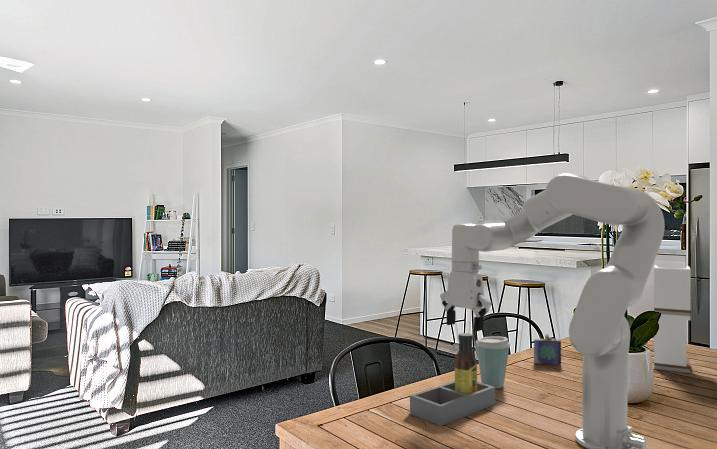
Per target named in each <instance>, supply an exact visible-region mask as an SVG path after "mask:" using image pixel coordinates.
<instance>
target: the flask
mask: <svg viewBox="0 0 717 449" xmlns="http://www.w3.org/2000/svg"><path fill="white" fill-rule="evenodd" d="M549 335H550V334H549V333H547V334H544V336H545V337H544V338H534V340H533V363H534V365H538V366H540V365H541V366H553V367H555V366H557V367H562V341H561V340H560V339H559V338H558V339H557V338H555V337H554V338H552V337H550V336H549Z"/></svg>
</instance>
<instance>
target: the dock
mask: <svg viewBox="0 0 717 449" xmlns="http://www.w3.org/2000/svg"><path fill="white" fill-rule="evenodd" d="M495 405H496V388H495V387H493V386H490V385H486V384H483V383H482V382H480V381H477V392H474V393H472V394H469V395H466V394H463V393H460V392H457V391H455V380H453V381H450V382H447V383H444V384H441V385H438V386H434V387H432V388H429V389H426V390H425V389H424V390H422V391H419V392H416V393H412V394H410V395H409V414H410V415H412V416H414V417H417V418H419V419H422V420H424V421H427V422H430V423H431V424H434V425H437V426H439V427H442V426H445V425H447V424H449V423H452V422H455V421H458V420H460V419H462V418H465V417H467V416H470V415H473V414H475V413H477V412H480V411H482V410H485V409H488V408H490V407H493V406H495Z"/></svg>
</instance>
